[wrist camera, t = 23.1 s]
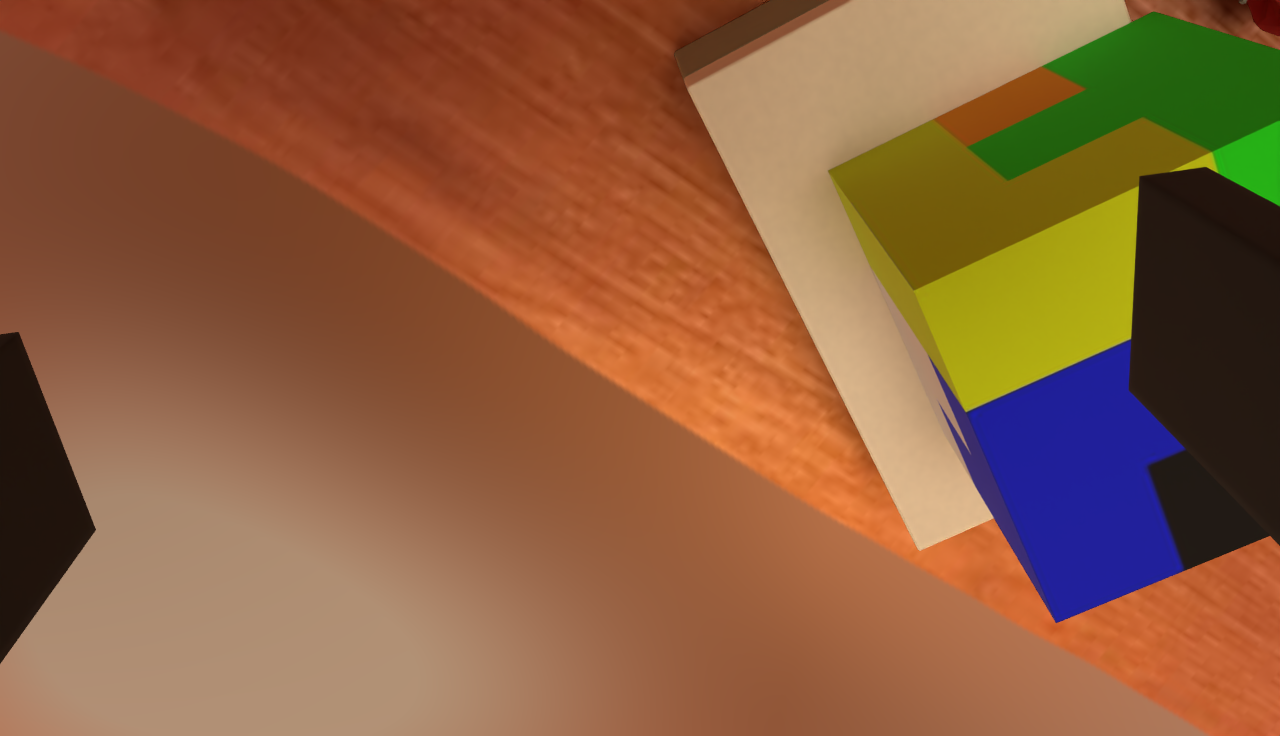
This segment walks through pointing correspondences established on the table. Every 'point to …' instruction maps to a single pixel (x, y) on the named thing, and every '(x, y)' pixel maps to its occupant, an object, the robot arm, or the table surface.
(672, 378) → the table surface
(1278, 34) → the white and red skull
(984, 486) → the puzzle toy
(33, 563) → the robot arm
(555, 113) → the table surface
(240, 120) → the table surface
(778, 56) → the cream grey rectangular block
